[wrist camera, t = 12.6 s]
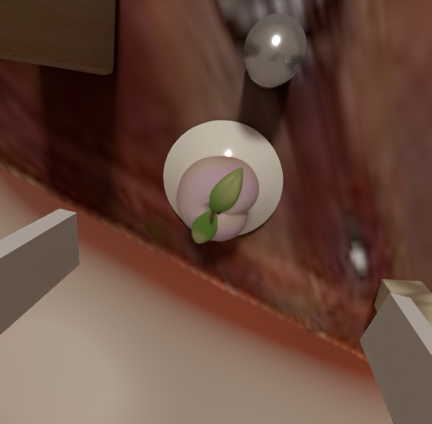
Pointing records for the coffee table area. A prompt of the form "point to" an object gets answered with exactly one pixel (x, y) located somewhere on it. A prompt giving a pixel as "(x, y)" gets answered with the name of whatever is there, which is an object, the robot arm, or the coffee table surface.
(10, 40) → the block
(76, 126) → the coffee table surface
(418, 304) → the birch cube
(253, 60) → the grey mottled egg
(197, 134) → the cream plate
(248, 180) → the decorative fruit
